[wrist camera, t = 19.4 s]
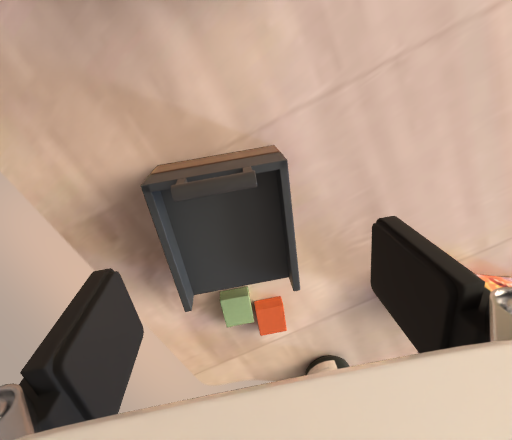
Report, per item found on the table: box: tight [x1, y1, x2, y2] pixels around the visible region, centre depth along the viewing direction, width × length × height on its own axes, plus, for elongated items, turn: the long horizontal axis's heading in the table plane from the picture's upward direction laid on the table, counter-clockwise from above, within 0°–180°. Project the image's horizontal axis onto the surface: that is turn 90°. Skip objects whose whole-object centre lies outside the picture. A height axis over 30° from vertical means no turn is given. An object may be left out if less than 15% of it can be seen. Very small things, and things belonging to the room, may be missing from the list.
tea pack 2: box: [254, 296, 287, 336], centre depth 42 cm, size 5×4×2 cm
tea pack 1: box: [220, 287, 254, 327], centre depth 41 cm, size 5×4×2 cm
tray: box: [141, 152, 300, 312], centre depth 29 cm, size 16×14×7 cm
